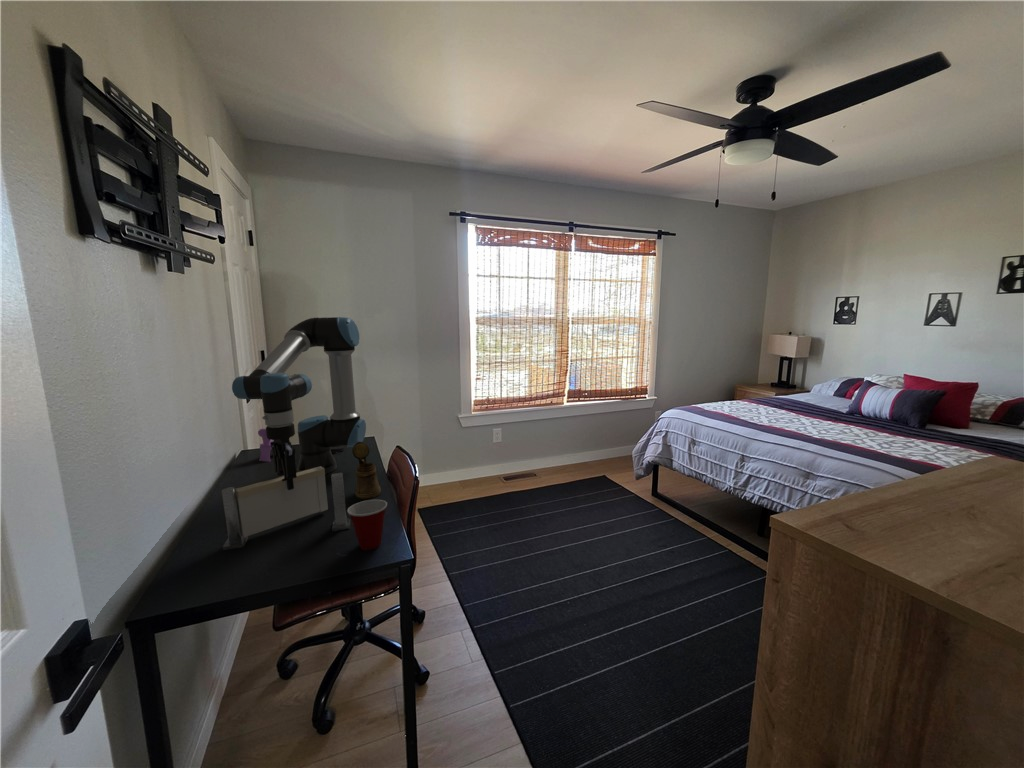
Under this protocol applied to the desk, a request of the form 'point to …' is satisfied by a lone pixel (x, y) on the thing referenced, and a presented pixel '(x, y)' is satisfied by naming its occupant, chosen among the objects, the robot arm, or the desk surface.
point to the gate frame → (239, 541)
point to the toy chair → (265, 446)
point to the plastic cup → (368, 522)
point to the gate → (281, 501)
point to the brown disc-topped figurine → (365, 473)
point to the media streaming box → (336, 449)
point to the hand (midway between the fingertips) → (288, 496)
